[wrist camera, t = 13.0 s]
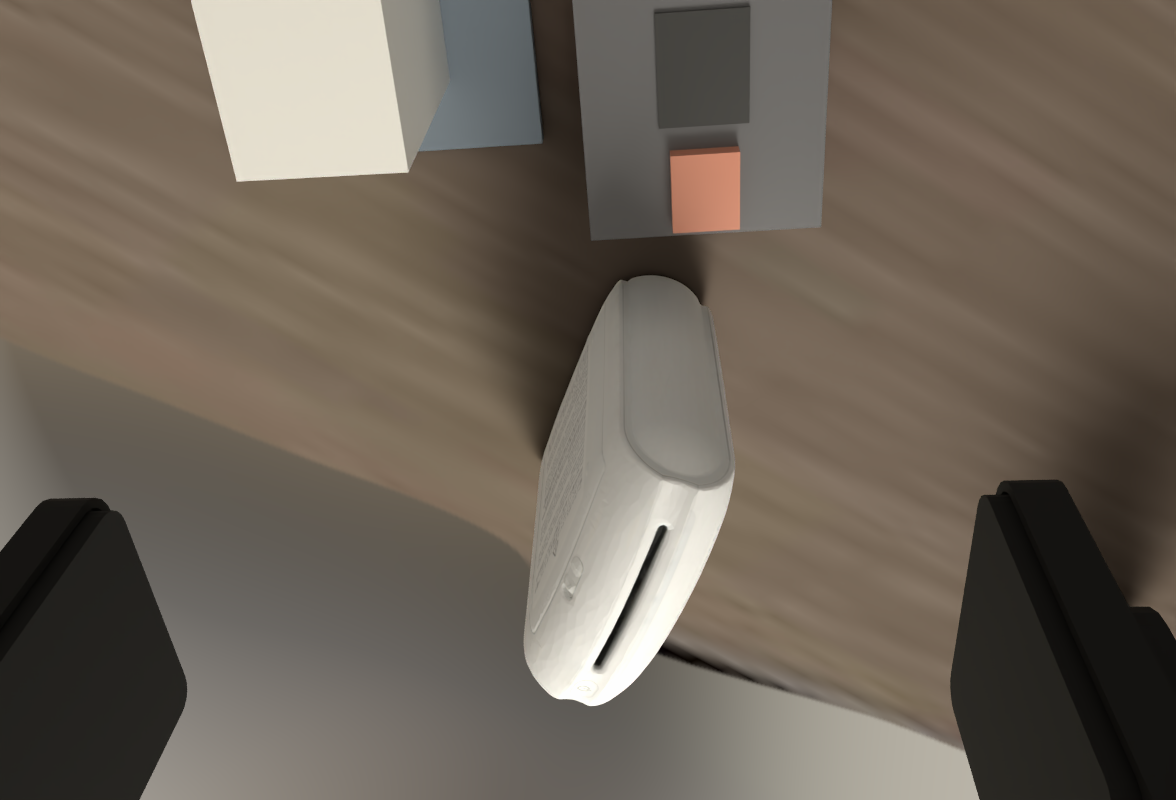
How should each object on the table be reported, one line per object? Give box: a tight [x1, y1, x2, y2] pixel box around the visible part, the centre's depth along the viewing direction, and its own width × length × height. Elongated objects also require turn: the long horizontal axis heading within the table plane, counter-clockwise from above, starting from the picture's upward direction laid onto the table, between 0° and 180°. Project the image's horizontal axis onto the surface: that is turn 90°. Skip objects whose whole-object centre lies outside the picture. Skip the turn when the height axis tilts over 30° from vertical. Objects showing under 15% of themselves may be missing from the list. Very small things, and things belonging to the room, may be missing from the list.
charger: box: [191, 0, 450, 181], centre depth 28 cm, size 4×6×8 cm
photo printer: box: [524, 275, 735, 706], centre depth 35 cm, size 10×4×12 cm, turn 161°
